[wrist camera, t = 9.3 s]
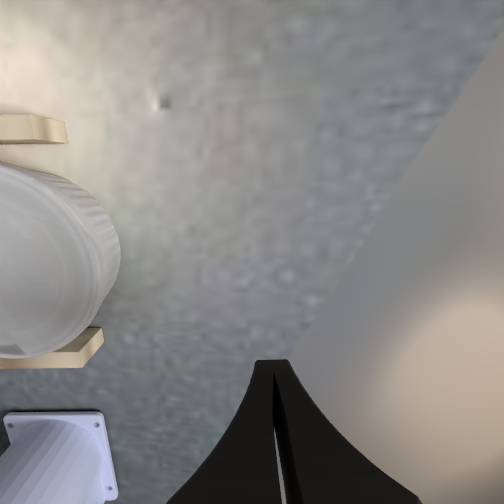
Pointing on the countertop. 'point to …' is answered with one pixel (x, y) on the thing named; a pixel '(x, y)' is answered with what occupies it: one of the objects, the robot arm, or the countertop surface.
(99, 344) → the birch dock
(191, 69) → the countertop surface
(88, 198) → the ramekin
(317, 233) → the countertop surface
